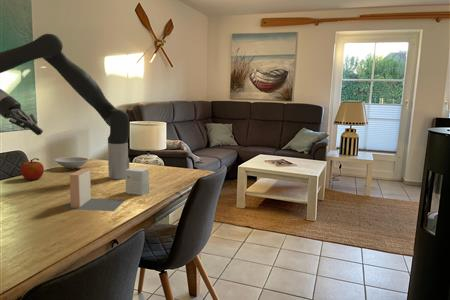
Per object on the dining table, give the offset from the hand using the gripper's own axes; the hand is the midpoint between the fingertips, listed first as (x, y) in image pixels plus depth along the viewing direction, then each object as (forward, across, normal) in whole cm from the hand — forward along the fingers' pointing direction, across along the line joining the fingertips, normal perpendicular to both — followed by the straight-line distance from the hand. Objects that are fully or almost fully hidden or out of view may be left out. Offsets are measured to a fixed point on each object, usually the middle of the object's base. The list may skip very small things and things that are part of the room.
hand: (40, 133), depth 130 cm
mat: (+33, -5, +6) cm, 34 cm away
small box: (+42, +12, 0) cm, 43 cm away
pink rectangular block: (+29, -5, +9) cm, 31 cm away
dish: (+5, +54, +28) cm, 61 cm away
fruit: (-1, +30, +33) cm, 44 cm away
